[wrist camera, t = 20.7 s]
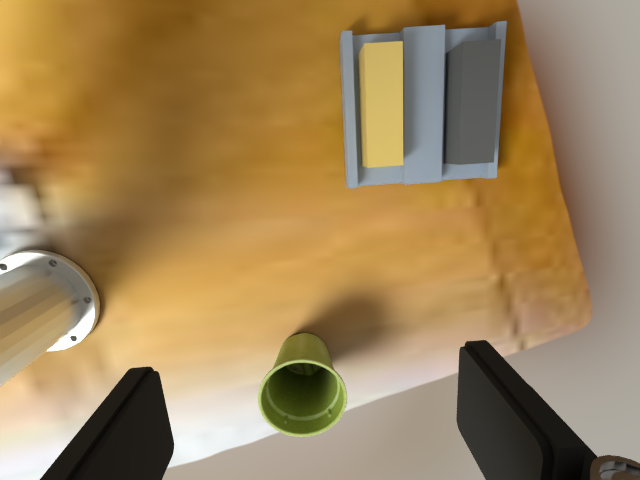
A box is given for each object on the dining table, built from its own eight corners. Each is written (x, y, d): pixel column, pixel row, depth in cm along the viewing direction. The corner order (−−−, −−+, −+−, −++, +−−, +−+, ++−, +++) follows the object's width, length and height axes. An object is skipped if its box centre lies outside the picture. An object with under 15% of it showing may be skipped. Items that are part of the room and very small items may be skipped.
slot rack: (346, 186, 39) (348, 188, 37) (339, 39, 35) (341, 31, 33) (485, 176, 40) (496, 178, 37) (493, 29, 36) (506, 20, 33)
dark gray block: (446, 53, 35) (463, 41, 31) (479, 51, 35) (501, 38, 31) (443, 163, 38) (459, 164, 34) (474, 161, 38) (493, 162, 34)
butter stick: (357, 55, 35) (364, 43, 31) (392, 52, 35) (402, 40, 31) (361, 165, 38) (368, 167, 34) (393, 163, 38) (403, 165, 34)
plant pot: (254, 367, 45) (242, 417, 36) (287, 308, 43) (282, 346, 34) (318, 394, 46) (320, 448, 38) (352, 338, 44) (363, 382, 36)
